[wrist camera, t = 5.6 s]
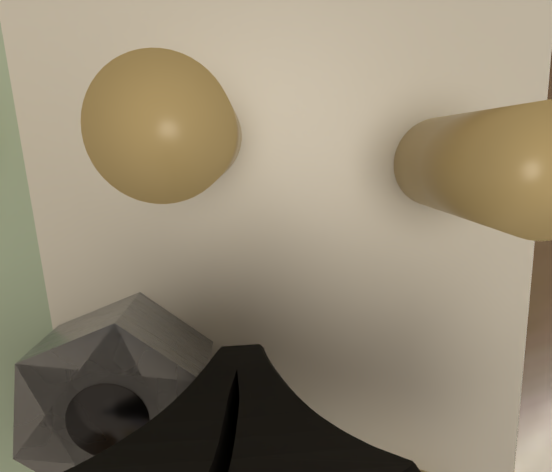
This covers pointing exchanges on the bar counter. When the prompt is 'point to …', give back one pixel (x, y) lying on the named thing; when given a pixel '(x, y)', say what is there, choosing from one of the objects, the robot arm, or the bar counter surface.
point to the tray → (290, 196)
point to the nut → (101, 381)
